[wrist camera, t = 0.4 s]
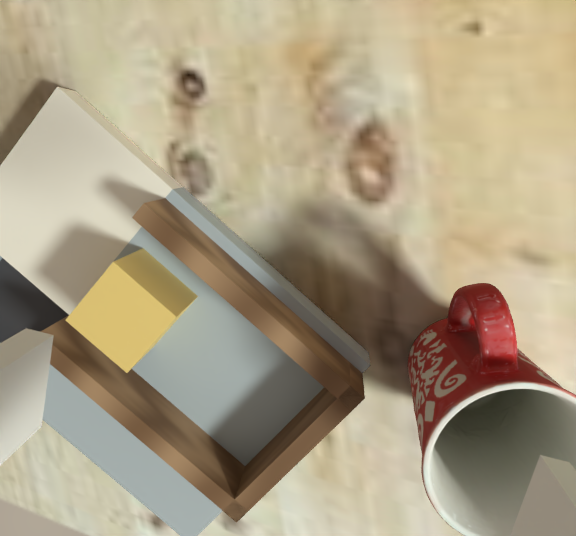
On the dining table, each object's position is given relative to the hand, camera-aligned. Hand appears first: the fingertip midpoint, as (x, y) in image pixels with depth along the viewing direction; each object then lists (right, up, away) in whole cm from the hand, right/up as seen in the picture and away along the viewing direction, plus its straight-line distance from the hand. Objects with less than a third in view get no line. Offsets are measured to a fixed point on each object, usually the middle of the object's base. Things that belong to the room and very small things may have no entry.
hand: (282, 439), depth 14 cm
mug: (+12, -1, +25) cm, 28 cm away
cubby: (-6, -1, +24) cm, 25 cm away
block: (-10, +2, +24) cm, 26 cm away
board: (-11, 0, +27) cm, 29 cm away
